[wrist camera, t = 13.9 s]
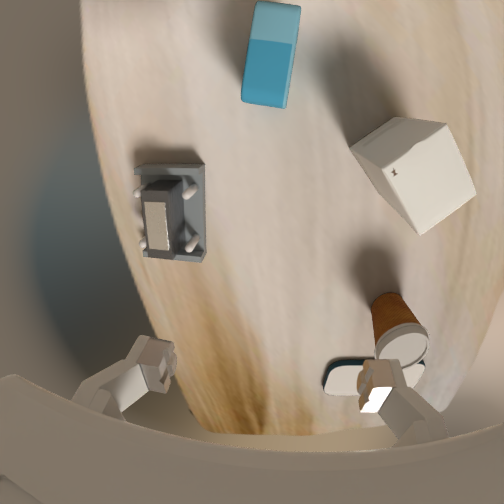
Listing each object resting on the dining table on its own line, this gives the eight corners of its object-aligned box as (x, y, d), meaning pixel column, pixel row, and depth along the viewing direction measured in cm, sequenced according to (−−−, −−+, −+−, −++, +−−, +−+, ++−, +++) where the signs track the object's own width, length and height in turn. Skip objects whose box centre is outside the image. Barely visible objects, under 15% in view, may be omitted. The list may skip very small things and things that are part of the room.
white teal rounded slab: (427, 355, 54) (430, 362, 53) (409, 386, 60) (411, 392, 58) (330, 357, 56) (331, 364, 55) (320, 389, 62) (320, 396, 60)
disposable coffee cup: (352, 307, 50) (363, 356, 39) (394, 274, 46) (416, 319, 35) (380, 333, 52) (393, 380, 41) (419, 304, 48) (440, 349, 37)
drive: (158, 179, 42) (140, 190, 36) (183, 179, 41) (167, 191, 36) (162, 239, 46) (147, 257, 41) (185, 241, 46) (172, 260, 41)
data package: (265, 26, 31) (256, -4, 20) (298, 31, 31) (302, 1, 20) (252, 104, 36) (239, 101, 26) (285, 109, 36) (285, 107, 26)
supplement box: (380, 197, 40) (418, 240, 27) (347, 147, 38) (378, 168, 24) (425, 166, 37) (479, 195, 24) (396, 114, 34) (447, 121, 21)
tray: (143, 163, 42) (127, 171, 37) (204, 164, 41) (194, 171, 37) (151, 247, 49) (138, 262, 44) (206, 253, 48) (197, 269, 43)
